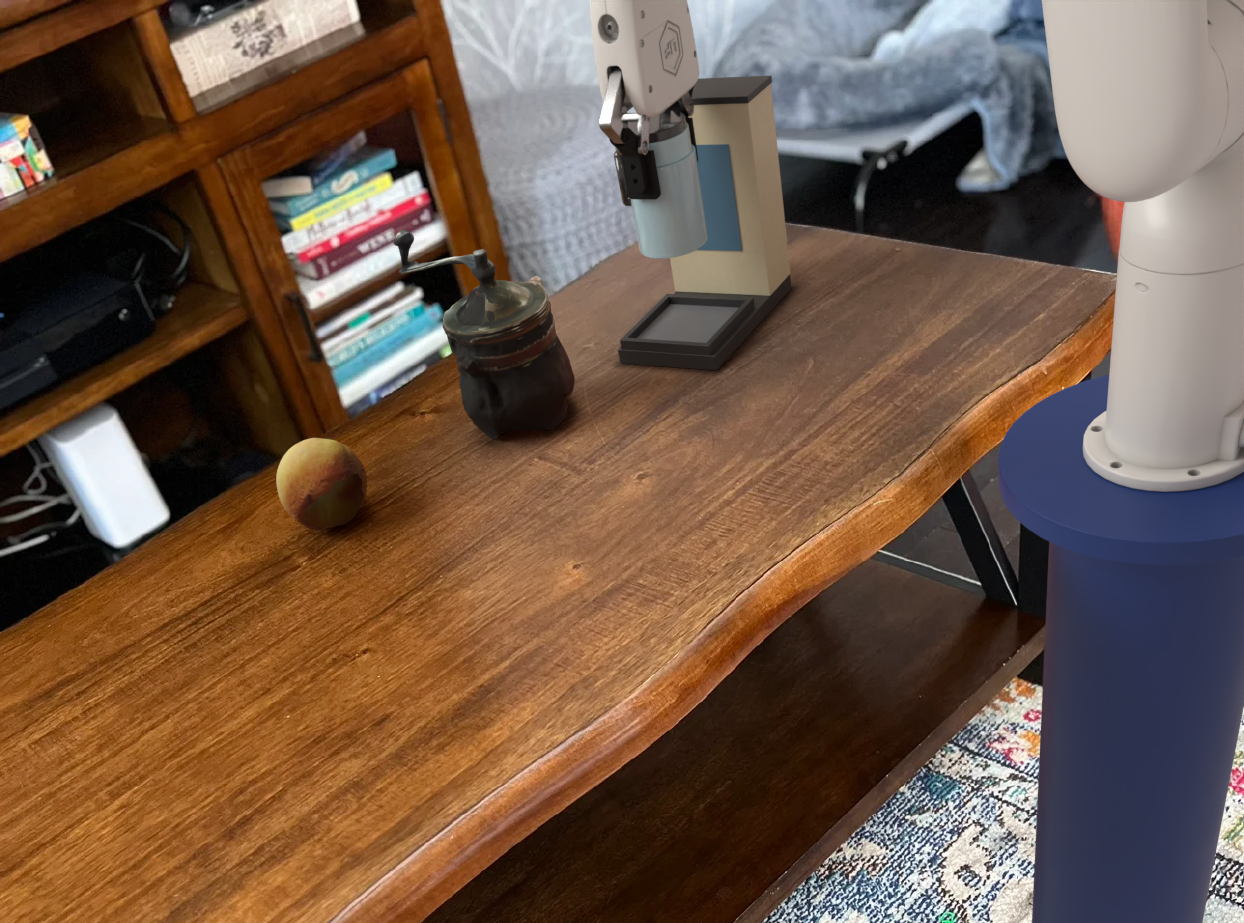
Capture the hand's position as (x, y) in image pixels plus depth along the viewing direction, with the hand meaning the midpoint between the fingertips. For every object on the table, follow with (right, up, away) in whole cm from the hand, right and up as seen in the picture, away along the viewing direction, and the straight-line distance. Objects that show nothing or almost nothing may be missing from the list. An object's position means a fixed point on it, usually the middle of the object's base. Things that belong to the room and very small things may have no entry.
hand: (663, 179), depth 118 cm
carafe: (+1, -4, +4) cm, 6 cm away
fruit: (-30, -32, 0) cm, 44 cm away
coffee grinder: (-15, -20, +7) cm, 26 cm away
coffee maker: (+5, -8, +13) cm, 16 cm away
